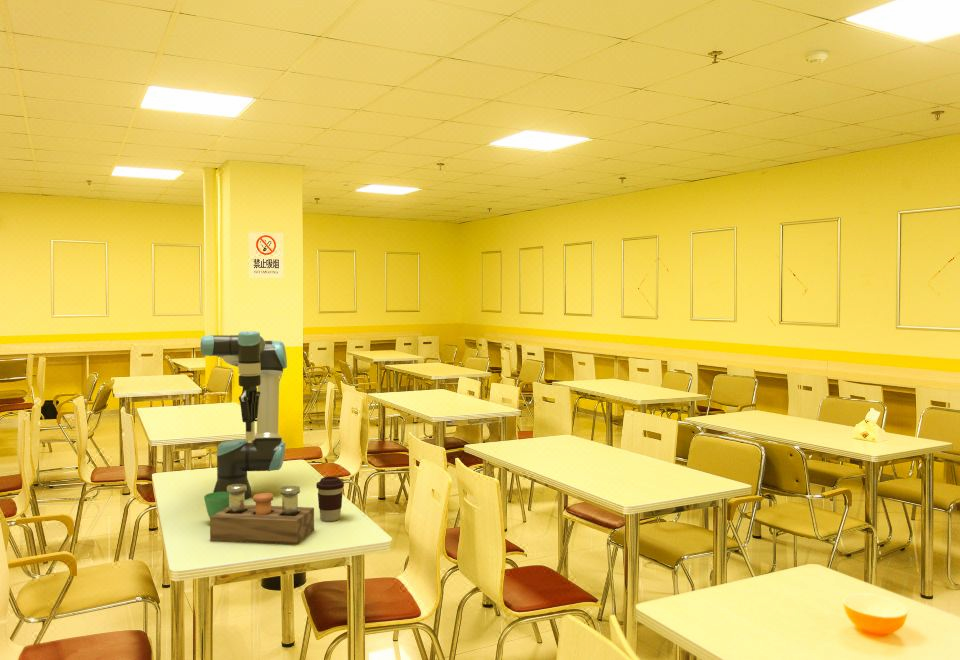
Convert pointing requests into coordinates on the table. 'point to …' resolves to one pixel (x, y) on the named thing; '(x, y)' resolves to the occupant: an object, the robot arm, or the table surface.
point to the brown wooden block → (262, 526)
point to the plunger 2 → (289, 500)
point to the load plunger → (263, 503)
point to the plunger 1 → (236, 498)
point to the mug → (216, 502)
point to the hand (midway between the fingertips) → (250, 439)
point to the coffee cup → (330, 498)
